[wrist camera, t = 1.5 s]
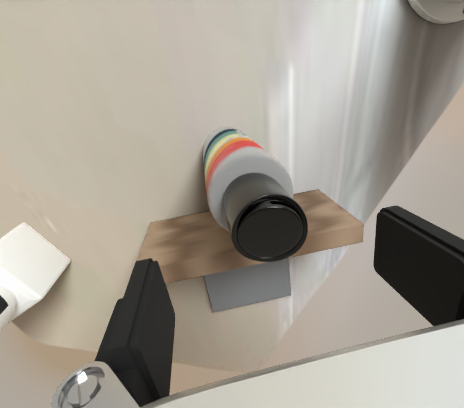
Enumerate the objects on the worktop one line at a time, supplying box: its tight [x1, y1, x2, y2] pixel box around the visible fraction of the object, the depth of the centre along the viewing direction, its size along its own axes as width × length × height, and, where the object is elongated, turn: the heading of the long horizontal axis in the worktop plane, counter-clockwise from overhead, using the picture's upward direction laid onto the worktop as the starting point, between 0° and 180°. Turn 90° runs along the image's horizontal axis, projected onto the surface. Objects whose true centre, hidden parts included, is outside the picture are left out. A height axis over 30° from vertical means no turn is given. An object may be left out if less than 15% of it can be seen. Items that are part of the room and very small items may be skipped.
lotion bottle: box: [203, 127, 308, 262], centre depth 21 cm, size 6×6×20 cm
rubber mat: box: [204, 258, 291, 312], centre depth 37 cm, size 12×12×1 cm
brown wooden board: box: [137, 189, 364, 284], centre depth 29 cm, size 22×2×10 cm, turn 99°
